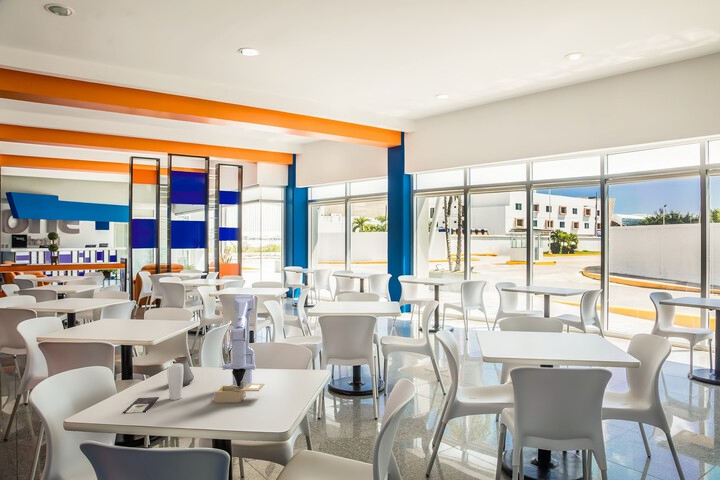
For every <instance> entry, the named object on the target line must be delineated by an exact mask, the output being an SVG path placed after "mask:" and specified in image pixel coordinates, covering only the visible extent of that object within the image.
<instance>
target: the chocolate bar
mask: <svg viewBox="0 0 720 480" xmlns="http://www.w3.org/2000/svg"><path fill="white" fill-rule="evenodd" d="M159 399H160V396H154V397H151V396H150V397H138V398H137V399H135V400H134V401H133V402H132V403H131V404H130V405H129V406H128V407H127V408H126V409H124V411H122V414H123V413H124V414H138V413H137V412H143V413H146V411H147V412H148V410H149V409H150V408H151V407H152V406H153V405H154V404H155V403H156V402H157V401H158V400H159Z"/></svg>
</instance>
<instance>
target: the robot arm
mask: <svg viewBox="0 0 720 480" xmlns="http://www.w3.org/2000/svg"><path fill="white" fill-rule="evenodd" d="M255 298H256V297H255V295H254V294H249V295H248V294H247V295H246V294H245V295H234V296H233V303H232V304H233V307H234V312H235V313H237V316H235V318H234V322H233V328H232V329H231V331H230V340H231V346H232V349H231V350H232V351H231V352H232V353H231V354H232V355H231V357H232V363H225V364H222V365H221V366H222V371H225V370H231V373H232V374H231V375H232V384H231V385H230V386H241V381H242V380H243V379H244V378H247V384H253V371H255V370H256V369H257V365H256V363H255V362H256V355H255V353H256V352H255V350H254V349H253V348H252V347H250V317H251V314H252V313H254V312H255V309H256V308H255V304H256V299H255Z"/></svg>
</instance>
